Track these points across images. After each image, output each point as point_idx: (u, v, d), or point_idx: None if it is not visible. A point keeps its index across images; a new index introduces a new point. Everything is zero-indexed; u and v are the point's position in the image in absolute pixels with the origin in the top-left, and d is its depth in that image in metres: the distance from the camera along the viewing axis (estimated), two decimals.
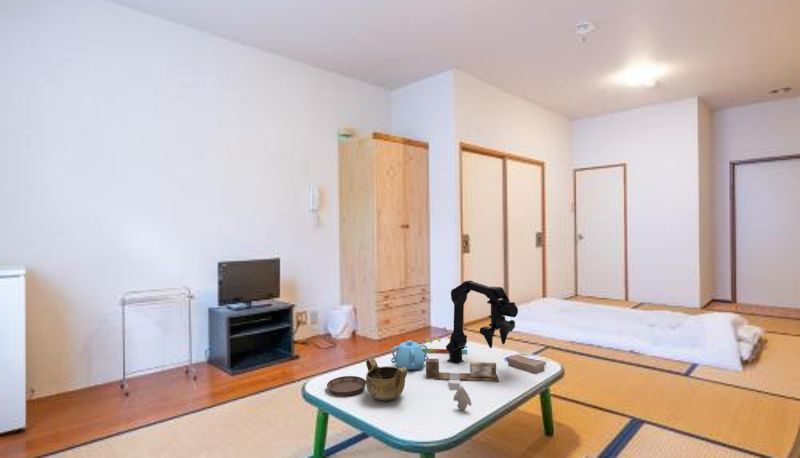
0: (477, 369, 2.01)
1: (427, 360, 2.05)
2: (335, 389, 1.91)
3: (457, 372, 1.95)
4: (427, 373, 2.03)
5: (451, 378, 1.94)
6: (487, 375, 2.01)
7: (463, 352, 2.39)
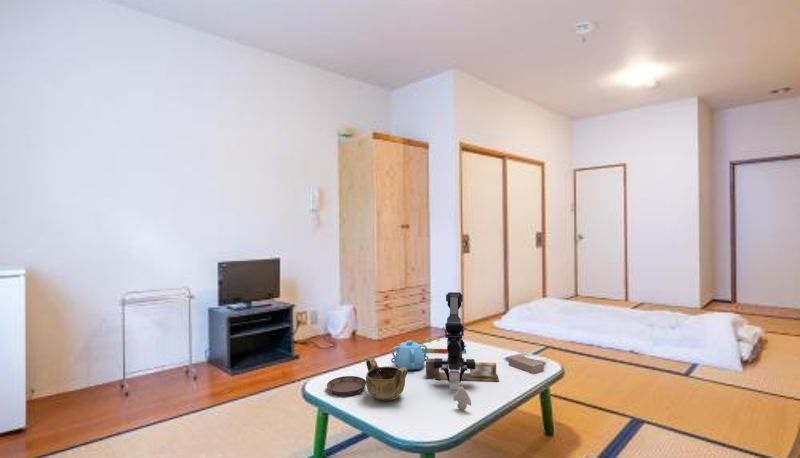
0: (477, 369, 2.01)
1: (427, 360, 2.05)
2: (335, 389, 1.91)
3: (457, 372, 1.94)
4: (427, 373, 2.03)
5: (451, 378, 1.93)
6: (487, 375, 2.01)
7: (462, 351, 2.40)
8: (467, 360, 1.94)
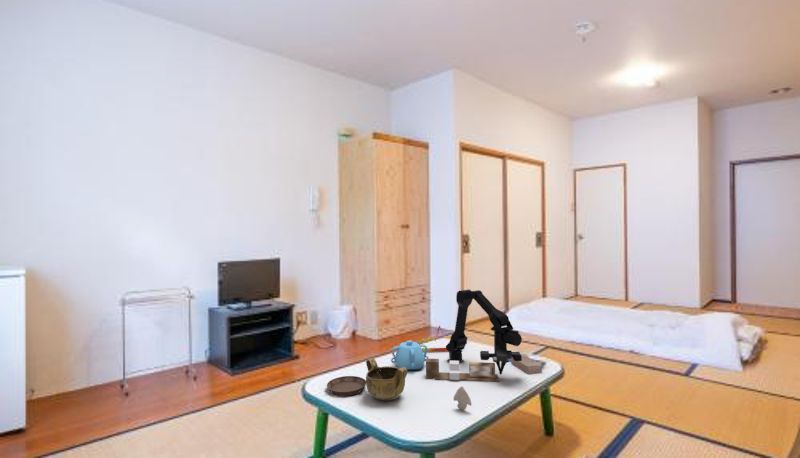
0: (476, 369, 2.01)
1: (427, 360, 2.05)
2: (335, 389, 1.91)
3: (457, 363, 2.04)
4: (427, 373, 2.03)
5: (451, 368, 2.03)
6: (486, 375, 2.01)
7: None
8: (513, 352, 2.01)
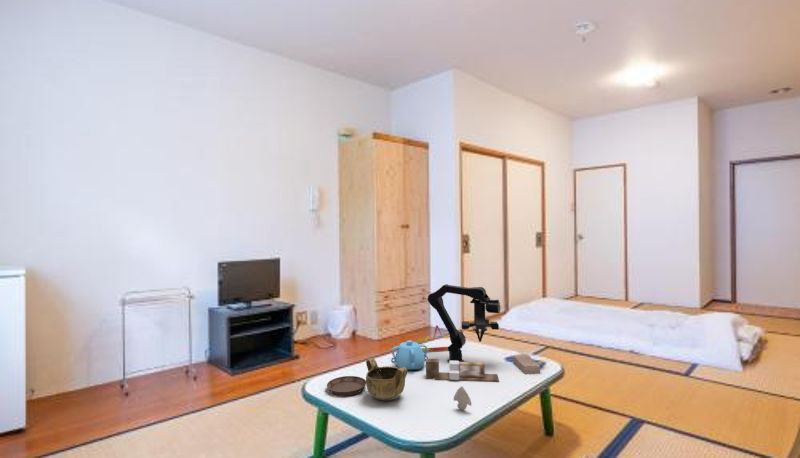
0: (466, 369, 2.02)
1: (427, 360, 2.05)
2: (335, 389, 1.91)
3: (457, 363, 2.04)
4: (427, 373, 2.03)
5: (451, 368, 2.03)
6: (476, 375, 2.01)
7: None
8: (491, 322, 2.20)
